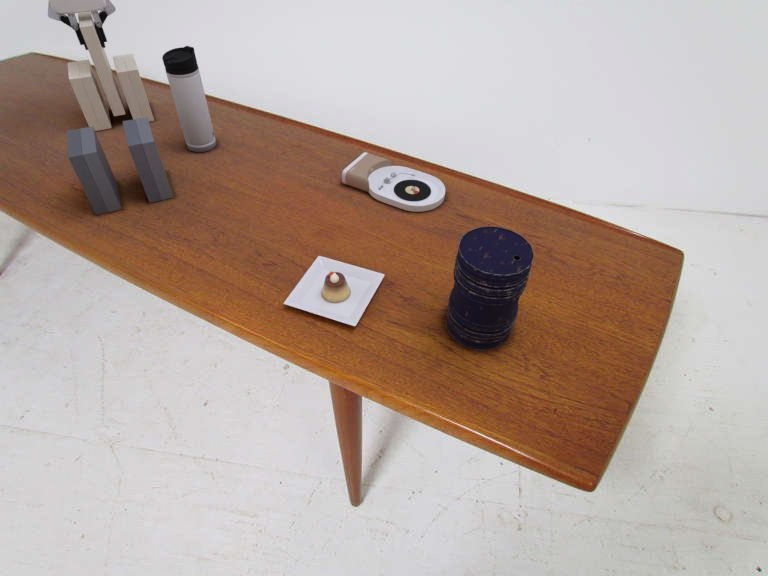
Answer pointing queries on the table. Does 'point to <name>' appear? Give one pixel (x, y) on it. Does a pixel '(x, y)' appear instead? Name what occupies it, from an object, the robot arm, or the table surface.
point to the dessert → (335, 290)
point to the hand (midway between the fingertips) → (95, 46)
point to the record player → (394, 183)
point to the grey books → (98, 173)
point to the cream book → (101, 63)
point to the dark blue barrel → (488, 286)
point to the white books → (92, 95)
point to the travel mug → (189, 98)
